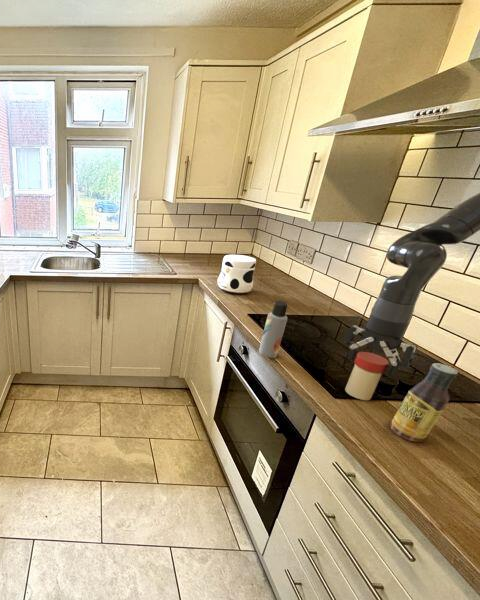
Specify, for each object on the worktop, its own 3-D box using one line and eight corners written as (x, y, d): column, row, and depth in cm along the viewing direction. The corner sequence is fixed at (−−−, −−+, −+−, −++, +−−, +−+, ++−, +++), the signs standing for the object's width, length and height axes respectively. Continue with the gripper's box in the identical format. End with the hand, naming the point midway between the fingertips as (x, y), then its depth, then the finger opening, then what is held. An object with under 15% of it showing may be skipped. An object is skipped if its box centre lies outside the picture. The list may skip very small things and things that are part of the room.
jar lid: (387, 376, 84) (391, 367, 83) (355, 368, 87) (358, 360, 86) (382, 364, 89) (386, 356, 88) (352, 357, 93) (355, 349, 91)
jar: (358, 386, 95) (372, 354, 90) (377, 400, 89) (392, 366, 85) (339, 387, 94) (352, 355, 90) (356, 400, 89) (370, 367, 85)
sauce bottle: (382, 424, 81) (414, 358, 73) (407, 424, 81) (441, 358, 73) (405, 444, 75) (443, 375, 67) (432, 445, 74) (473, 375, 67)
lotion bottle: (279, 355, 111) (294, 302, 103) (271, 360, 108) (286, 306, 100) (263, 348, 115) (276, 297, 107) (255, 352, 112) (268, 301, 105)
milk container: (209, 286, 176) (214, 255, 169) (234, 283, 181) (240, 253, 174) (232, 297, 161) (239, 263, 154) (258, 294, 166) (266, 261, 159)
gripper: (433, 323, 78) (407, 377, 85) (364, 303, 90) (346, 352, 96) (420, 329, 75) (395, 385, 81) (351, 308, 87) (333, 358, 93)
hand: (368, 367), depth 89 cm, fingers open, 8 cm apart
